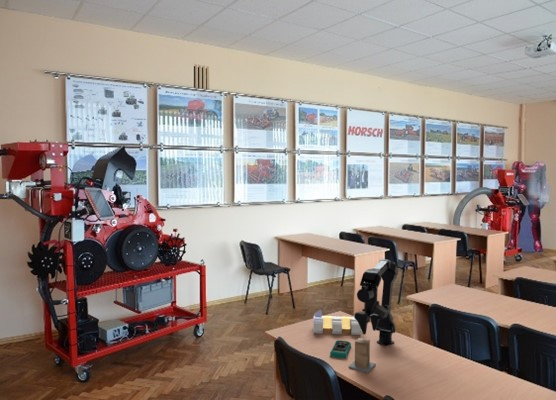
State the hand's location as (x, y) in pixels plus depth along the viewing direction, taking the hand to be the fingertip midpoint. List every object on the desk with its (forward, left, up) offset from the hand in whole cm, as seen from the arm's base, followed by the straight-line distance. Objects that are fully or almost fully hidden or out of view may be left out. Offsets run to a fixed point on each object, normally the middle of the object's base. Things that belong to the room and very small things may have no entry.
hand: (369, 332), depth 193 cm
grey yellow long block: (-16, -33, -14) cm, 39 cm away
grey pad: (+8, +2, -13) cm, 15 cm away
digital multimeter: (+2, -15, -14) cm, 20 cm away
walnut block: (+8, +2, -12) cm, 15 cm away
